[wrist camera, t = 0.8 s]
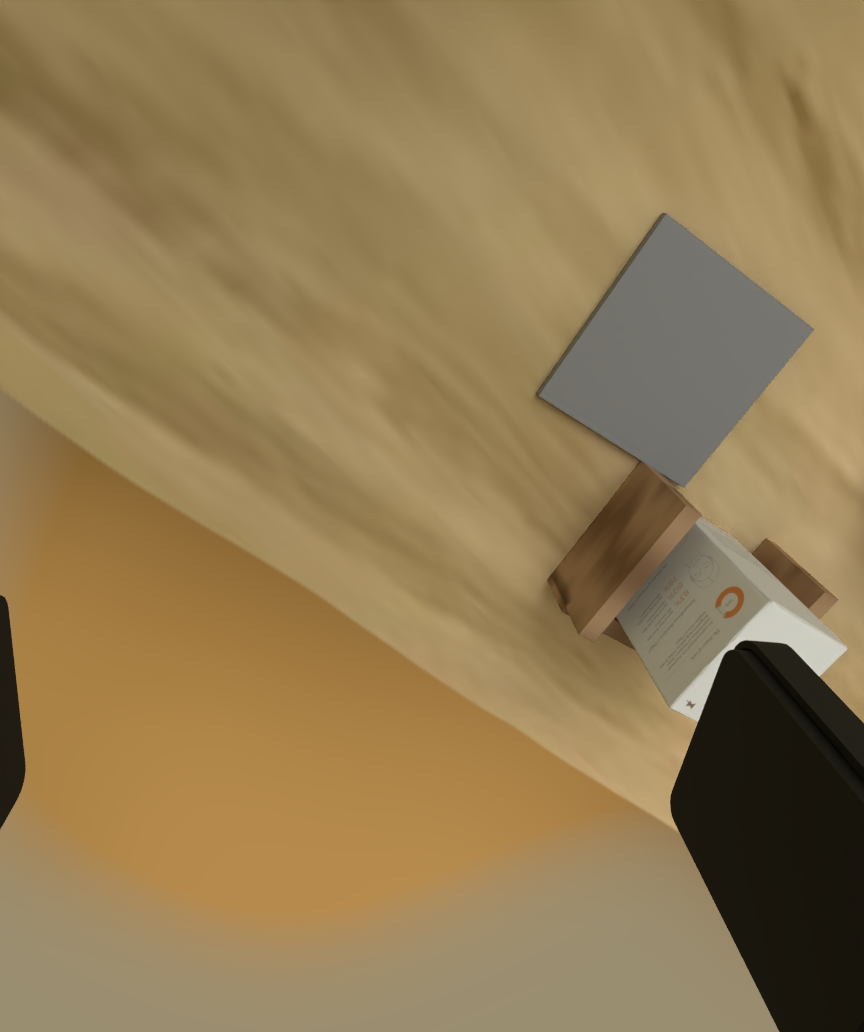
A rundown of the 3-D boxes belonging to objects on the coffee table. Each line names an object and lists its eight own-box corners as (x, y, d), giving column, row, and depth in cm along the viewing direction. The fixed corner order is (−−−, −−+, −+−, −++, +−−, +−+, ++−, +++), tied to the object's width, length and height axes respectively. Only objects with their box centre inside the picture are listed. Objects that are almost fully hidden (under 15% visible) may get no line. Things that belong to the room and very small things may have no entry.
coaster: (662, 212, 39) (666, 213, 39) (808, 327, 43) (814, 329, 42) (536, 393, 43) (538, 395, 43) (680, 484, 47) (683, 487, 46)
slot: (641, 459, 46) (686, 505, 40) (778, 545, 50) (838, 600, 43) (547, 579, 49) (574, 639, 43) (682, 651, 53) (724, 715, 47)
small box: (661, 620, 52) (748, 751, 40) (594, 583, 50) (666, 710, 38) (736, 535, 49) (853, 649, 37) (669, 493, 47) (770, 599, 35)
